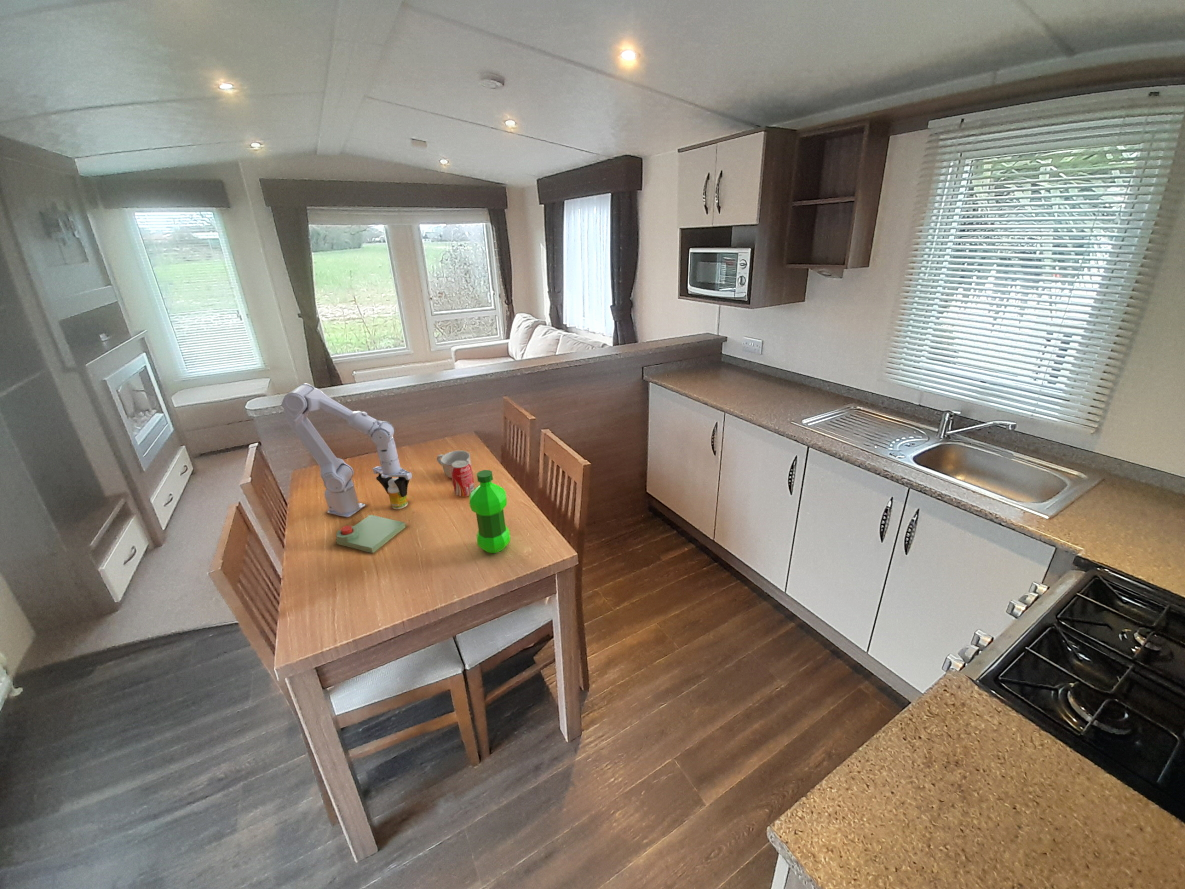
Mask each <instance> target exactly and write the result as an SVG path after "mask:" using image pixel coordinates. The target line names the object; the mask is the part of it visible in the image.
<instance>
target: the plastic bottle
mask: <svg viewBox="0 0 1185 889" xmlns="http://www.w3.org/2000/svg"><path fill="white" fill-rule="evenodd" d="M476 479H477V483H479V485H478V486H476V487H474V490H473V491H472V492H471V493H470V495H469V508H470V510H471V512H473V513H475V515H476V520H477V522H476V523H477V529H478V530H477V533H476V543H477V546H478V547H479V548H480V549H481V550H483V551H485V552H486V553H489V554H498V553H499V552H502V551H503V550H504V549H505V548H506V547H507V546H508V545H509V543H510V541H511V535H510V534H511V533H510V529H509V527H508V526H507V525H506V520H505V519H506V518H505V512H504V509H505V508H506V507H507V504H508V501H507V493H506V490H505V489H504V488H503V487H501V485H498V484H496V483H493V482H492V481H493V480H494V476H493V471H492V470H490V469H482V470H480V471H478V472H477V473H476Z"/></svg>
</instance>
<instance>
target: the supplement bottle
mask: <svg viewBox="0 0 1185 889" xmlns="http://www.w3.org/2000/svg"><path fill="white" fill-rule="evenodd" d="M397 479H399V478H398V477H392V479H390V480H389V481H388V485H389V487H388V494H387V495H388V497H389V501H390V506H391V508H392V509H394V510H400V509H401V510H402V509H404V508H405V507H407V506H408V504H409V500H408V497H407V495H406V496H404V497H401V495H400V492H399V489H398V487H397V485H396V484H395V483H394V481H395V480H397Z"/></svg>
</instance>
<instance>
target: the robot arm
mask: <svg viewBox="0 0 1185 889" xmlns="http://www.w3.org/2000/svg"><path fill="white" fill-rule="evenodd" d="M280 405H281V407H282V409H283V412H284V419H285V422H286V423H287V425H288V426H289V427H290V429H291V430H292V432H293V433H294V434H295V435H296V437H297V438H298V439H299V441H300V442H301V443H302V445H303V446H304V447H305V449H306V450H307V452H308V453H309V454H310V455H311V457H312V459H314V461H315V462H316V463H317V465H318V466H319V468H320V478H321V480H322V481H323V485H324V488H325V491H324V498H325V501H326V505H327V508H328V510H327V511H326V512H327V514H331V515H334V516H339V517H343V518H350V517H351V516H353V515H354V514H356V513H357V512H359V511H360V510H362V509H363V508H365V507H366V506H367V505H366V504H365V503H361V502H359V498H358V495H357V490H356V487H355V484H354V481H353V479H352V478H353V476H354V475H355V474H354V473H355V472H354V469H353V467H352V466H351V465H349V464H348V463H346V462H345V461H344V459H342V458H340V457H337V456H336V455H335V453H333V451H332V450H331V448H330V446H328V444H327V443H326V441H325V440H324V438H323V437H322V435H321V434H320V433H319V431H318V430H317V429H316V427H315V426H314V425H313V423H312V422H311V420H310V419H309V418H308V415H309V413H310V412H313V411H320V410H322V411H324V412H326V413H329V414H331V415H333V416H335V417H338V418H340V419H341V420H344V421H346V422H347V423H348V426H349V427H350V428H352V429H354V430H355V431H358V432H359V433H362V434H363V435H365V436H367V437H369V438H370V440H371V441H372V443H373V444H375V448H376V452H377V455H378V460H379V464H380V465H379V466H378V465H377V466H375V467H373V468H372V473H373V474H374V475H378V476H376V477H375V479H376V481H377V482H379V483H380V484H381V486H382V488H383V489H384V490H385V492H386V494H387V495H389V494H388V487H389V485H388V481H389V480H390V479H393V478H399V479H397V480H395V481H394V483H395V484H396V485H397V487H398V489H399V492H400V495H401V497H404V496H407V495H408V489H409V488H408V487H409V482H410V480H412V478H413V475H412V472H411V471H408V470H406V469H404V468H402V467H401V464H400V460H399V454H398V450H397V446H396V442H395V438H394V434H395V428H394V425H393V424H391V423H390V422H389V421H386V420H383V421H382V420H380V419H379V420H378V419H376V418H374V417H372V416H370V415H368V412H366V411H361V410H357V411H353V410H351V409H350V408H348V407H346V406H345V405H343V404H341V403H340V402H338V401H336V400H335V399H333V398H331V397H330V396H329V395H327V394H325V393H324V392H323V391H322V390H321V389H319V388H317V387H315V386H313V385H312V384H310V383H300V384H299V385H297V387H296V388H294V389H293V390H291V391H289V392H287V393H286V394H285V395H284V396H283V398H282V401H281V403H280Z"/></svg>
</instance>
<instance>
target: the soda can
mask: <svg viewBox="0 0 1185 889" xmlns="http://www.w3.org/2000/svg"><path fill="white" fill-rule="evenodd" d="M451 475H452V478H451V480H452V486H453V489H454V494H455V495H456V496H457V497H461V498H466V497H470V493H471V492H472V491H473V490H474V489H475V481H474V475H473V470H472V464H471V465H470V464H469V462H468V461H467V460H457V461H455V462H453V463H452V467H451Z"/></svg>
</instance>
